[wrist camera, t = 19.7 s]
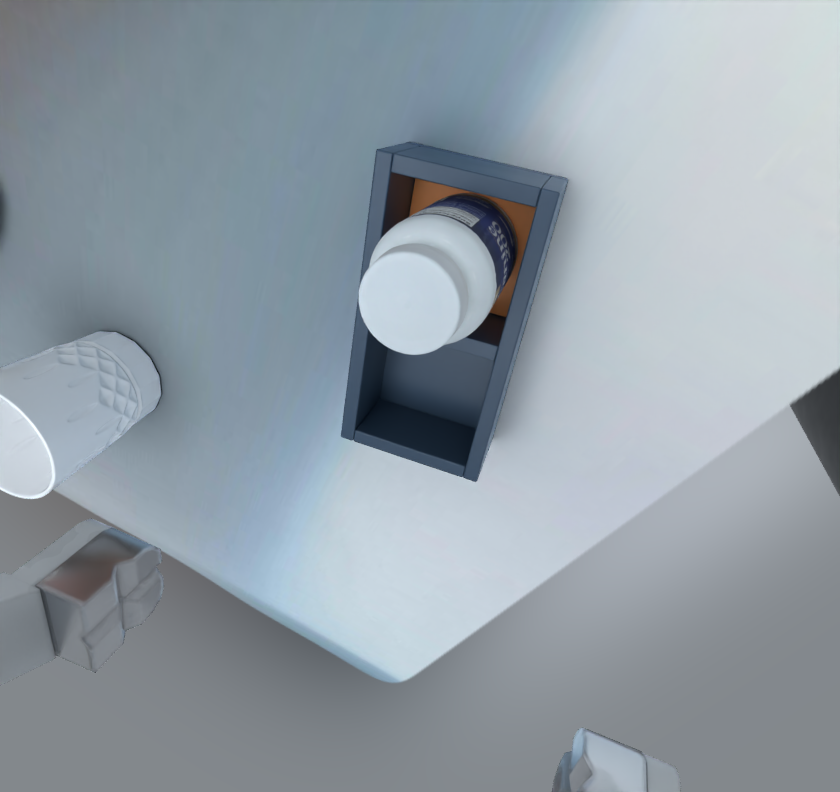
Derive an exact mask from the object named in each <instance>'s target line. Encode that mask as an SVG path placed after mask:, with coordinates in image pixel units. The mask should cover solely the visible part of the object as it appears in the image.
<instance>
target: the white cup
mask: <svg viewBox="0 0 840 792" xmlns="http://www.w3.org/2000/svg"><path fill="white" fill-rule="evenodd" d="M160 397H161V386H160V377H159V374H158V372H157V371H156V369H155V367H154V365H153V363H152V361H151V359H150V357H149V356H148V355H147V354H146V353H145V352H144V351H143V350H142V349H141V348H140V347H139V346H138V345H137V344H136V343H135V342H134V341H132V340H130V339H128V338H127V337H125V336H123V335H121V334H119V333H117V332H103V331H98V332H95V333H93V334H90V335H88V336H85V337H83V338H80V339H78V340H75V341H73V342H71V343H66V344H62V345H58V346H55V347H53V348H50V349H47V350H45V351H43V352H40V353H36V354H33V355H31V356H28V357H25V358H23V359H20V360H17V361H15V362H12V363H10V364H7V365H5V366H2V367H0V490H2V491H4V492H6V493H8V494H11V495H13V496H16V497H20V498H26V499H37V498H40V497H43V496H45V495H47V494H48V493H49V492H50V491H52V490H53V489H54V488H56V487H57V486H58V485H60V484H61V483H62V482H63V481H65V480H66V479H67V478H69V477H70V476H71V475H72V474H74V473H75V472H76V471H78V470H79V469H80V468H82V467H83V466H84V465H86V464H87V463H88V462H89V461H91V460H92V459H93V458H95V457H96V456H97V455H99V454H100V453H101V452H103V451H104V450H105V449H106V448H108V447H109V446H110V445H111V444H112V443H113V442H115V441H116V440H117V439H119V438H120V437H121V436H122V435H124V434H125V433H126V432H127V431H128V430H129V429H130V427H131V426H132V425H134V424H135V423H137V422H138V421H139V420H141V419H142V418H143V417H145V416H146V415H147V414H149V413H150V412H151V411H153V410H154V409H155V408H156V405H157V403H158V401H159V399H160Z"/></svg>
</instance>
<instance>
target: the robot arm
mask: <svg viewBox="0 0 840 792" xmlns="http://www.w3.org/2000/svg"><path fill="white" fill-rule="evenodd" d="M161 562H162V557H161V549H160V548H158V547H155V546H153V545H151V544H148V543H146V542H144V541H142V540H139V539H137V538H135V537H133V536H130V535H128V534H126V533H124V532H121V531H119V530H117V529H115V528H113V527H111V526H108V525H106V524H104V523H101V522H99V521H96V520H94V519H92V518H91V519H88V520H86V521H82V522H80V523H79V524H77V525H76V526H75V527H73V528H72V529H71V530H69V531H68V532H67V533H65V534H64V535H63V536H61V537H60V538H59V539H57V540H56V541H54V542H53V543H52V544H51V545H49V546H48V547H47V548H45V549H44V550H43V551H41V552H40V553H39V554H37V555H36V556H34V557H33V558H32V559H30V560H29V561H28V562H26V563H25V564H24V565H22V566H21V567H20V568H18V569H17V570H16V571H14V572H13V573H12V574H10V575H9V574H7V573H4V572H2V573H0V685H2V684H5V683H6V682H9V681H11V680H13V679H15V678H17V677H19V676H21V675H23V674H25V673H27V672H29V671H31V670H33V669H35V668H37V667H39V666H41V665H43V664H45V663H47V662H49V661H52V660H53V659H55V658H56V656H59V657H61V658H63V659H65V660H68V661H70V662H72V663H74V664H76V665H79V666H81V667H83V668H85V669H88V670H90V671H92V672H94V673H96V672H97V671H98V669H100V667H101V666H102V665H103V664H104V663H105V662H106V661H107V660H108V659H109V658H110V657H111V656H112V655H113V654H114V653H115V652H116V651H117V650H118V649H119V648H120V647H121V645H122V644H123V643H124V637H125V631H126V630H129V629H131V628H134V627H136V626H139V625H141V624H142V623H143V622H144V621H145V620H146V619H147V618H148V617H149V616H150V614H151V613H152V612H153V611H154V609H155V607H156V605H157V604H158V602H159V600H160V598H161V595H162V592H163V588H164V581H163V576H162V575H161V573H160V572H159V570H158V569H157V565H159V564H160V563H161ZM552 792H681V786H680V776H679V774H678V771H677V768H676V767H674V766H673V765H671V764H669V763H666V762H663V761H661V760H659V759H656V758H654V757H651V756H649V755H646V754H643V753H642V752H641V751H639V750H637V749H634V748H632V747H629V746H627V745H624V744H622V743H620V742H617V741H615V740H612V739H610V738H607V737H605V736H602V735H600V734H597V733H595V732H593V731H590V730H588V729H585V728H583V727H582V728H580V729H578V731H577V733H576V734H575V736H574V738H573V746H572V751H570V752H566V753H565V754H564V756H563V757H562V760H561V761H560V763H559V766H558V769H557V773H556V776H555V779H554V783H553V788H552Z"/></svg>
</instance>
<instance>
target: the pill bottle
mask: <svg viewBox="0 0 840 792" xmlns="http://www.w3.org/2000/svg"><path fill="white" fill-rule="evenodd" d="M517 254H518V243H517V236H516V232H515V229H514V226H513V224H512V222H511V220H510V218H509V217H508V215H507V214H506V213H505V212H504V210H503V209H502V208H501V207H500V206H498V205H497V204H496V203H494V202H493V201H491V200H489V199H487V198H485V197H483V196H480V195H476V194H469V193H460V194H454V195H450V196H447V197H445V198H442V199H440V200H438V201H436V202H434V203H433V204H431V205H429V206H428V207H426V208H424V209H422V210H421V211H419V212H417V213H415V214H413V215H412V216H410V217H408V218H406V219H405V220H403V221H401V222H399V223H398V224H396V225H395V226H394V227H392V228H391V229H390V230H389V231H388V232H387V233H386V234H385V235H384V236H383V237H382V238H381V239H380V241H379V242H378V244H377V245H376V247H375V249H374V251H373V254H372V257H371V260H370V265H369V268H368V270H367V271H366V272H365V274H364V276H363V279H362V281H361V284H360V288H359V298H358V300H359V308H360V312H361V316H362V318H363V320H364V323H365V324H366V326H367V328H368V329H369V331H370V332H371V334H372V335H373V336H374V337H375V338H376V339H377V340H378V341H379V342H381V343H382V344H383V345H385V346H386V347H388V348H390V349H392V350H394V351H397V352H400V353H404V354H409V355H420V354H426V353H430V352H432V351H435V350H437V349H439V348H440V347H442V346H443V345H446V344H450V343H454V342H457V341H459V340H461V339H463V338H465V337H467V336H468V335H470V334H471V333H472V332H473V331H475V330H476V329H477V328H478V327H479V326H480V325H481V323H482V322H483V321H484V320H485V318H486V317H487V315H488V314H489V312H490V310H491V308H492V307H493V305H494V304H495V302H496V300H497V299H498V297H499V295H500V293H501V292H502V290H503V288H504V286H505V285H506V283H507V281H508V279H509V278H510V276H511V273H512V271H513V269H514V266H515V263H516V260H517Z"/></svg>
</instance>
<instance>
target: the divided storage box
mask: <svg viewBox="0 0 840 792" xmlns="http://www.w3.org/2000/svg"><path fill="white" fill-rule="evenodd" d="M567 183H568V179H567V178H564V177H560V176H555V175H551V174H547V173H542V172H538V171H534V170H529V169H525V168H521V167H517V166H512V165H508V164H504V163H499V162H495V161H491V160H486V159H482V158H478V157H473V156H469V155H465V154H460V153H456V152H452V151H448V150H443V149H439V148H435V147H430V146H426V145H422V144H417V143H413V142H407V143H403V144H399V145H395V146H390V147H386V148H382V149H377V151H376V158H375V166H374V174H373V182H372V190H371V198H370V206H369V214H368V222H367V230H366V238H365V246H364V254H363V262H362V270H361V278H360V284H361V281H362V279H363V276H364V274H365V272H366V271H367V270H368V268H369V265H370V260H371V257H372V254H373V251H374V249H375V247H376V245H377V244H378V242H379V241H380V239H381V238H382V237H383V236H384V235H385V234H386V233H387V232H388V231H389V230H390V229H391V228H392V227H394V226H395V225H396V224H398V223H399V222H401V221H403V220H405V219H406V218H408V217H410V216H412V215H413V214H415V213H417V212H419V211H421V210H422V209H424V208H426V207H428V206H429V205H431V204H433V203H434V202H436V201H438V200H440V199H442V198H445V197H447V196H450V195H454V194H460V193H469V194H476V195H480V196H483V197H485V198H487V199H489V200H491V201H493V202H494V203H496V204H497V205H498V206H500V207H501V208H502V209H503V210H504V212H505V213H506V214H507V215H508V217H509V218H510V220H511V222H512V224H513V226H514V229H515V232H516V236H517V243H518V254H517V260H516V263H515V266H514V269H513V271H512V273H511V276H510V278H509V279H508V281H507V283H506V285H505V286H504V288H503V290H502V292H501V293H500V295H499V297H498V299H497V300H496V302H495V304H494V305H493V307H492V308H491V310H490V312H489V314H488V315H487V317H486V318H485V320H484V321H483V322H482V323H481V325H480V326H479V327H478V328H477V329H476V330H475V331H473V332H472V333H471V334H470V335H468V336H467V337H465V338H463V339H461V340H459V341H457V342H454V343H450V344H446V345H443V346H442V347H440V348H439V349H437V350H435V351H432V352H430V353H426V354H420V355H409V354H404V353H400V352H397V351H394V350H392V349H390V348H388V347H386V346H385V345H383V344H382V343H381V342H379V341H378V340H377V339H376V338H375V337H374V336H373V335H372V334H371V332H370V331H369V329H368V328H367V326H366V324H365V323H364V320H363V318H362V316H361V312H360V308H359V300H358V302H357V311H356V319H355V327H354V335H353V343H352V351H351V359H350V367H349V375H348V383H347V391H346V399H345V407H344V415H343V423H342V431H341V437H343V438H346V439H349V440H354V441H355V442H358V443H361V444H364V445H367V446H370V447H373V448H376V449H379V450H382V451H385V452H388V453H391V454H394V455H397V456H400V457H403V458H406V459H409V460H412V461H415V462H418V463H421V464H424V465H427V466H430V467H433V468H436V469H439V470H442V471H445V472H448V473H451V474H454V475H457V476H460V477H463V478H466V479H469V480H472V481H475V482H476V481H477V480H478V477H479V474H480V472H481V469H482V466H483V463H484V461H485V458H486V455H487V453H488V450H489V447H490V444H491V442H492V439H493V435H494V432H495V429H496V425H497V422H498V418H499V415H500V412H501V408H502V405H503V401H504V398H505V394H506V391H507V388H508V384H509V381H510V377H511V374H512V371H513V367H514V364H515V360H516V357H517V353H518V350H519V347H520V343H521V340H522V336H523V333H524V330H525V326H526V323H527V319H528V316H529V312H530V309H531V306H532V302H533V299H534V295H535V292H536V289H537V285H538V282H539V278H540V275H541V271H542V268H543V265H544V261H545V258H546V254H547V251H548V248H549V244H550V241H551V237H552V234H553V230H554V227H555V224H556V220H557V217H558V213H559V210H560V207H561V203H562V200H563V196H564V193H565V189H566V186H567ZM359 288H360V286H359ZM358 298H359V294H358Z"/></svg>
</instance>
